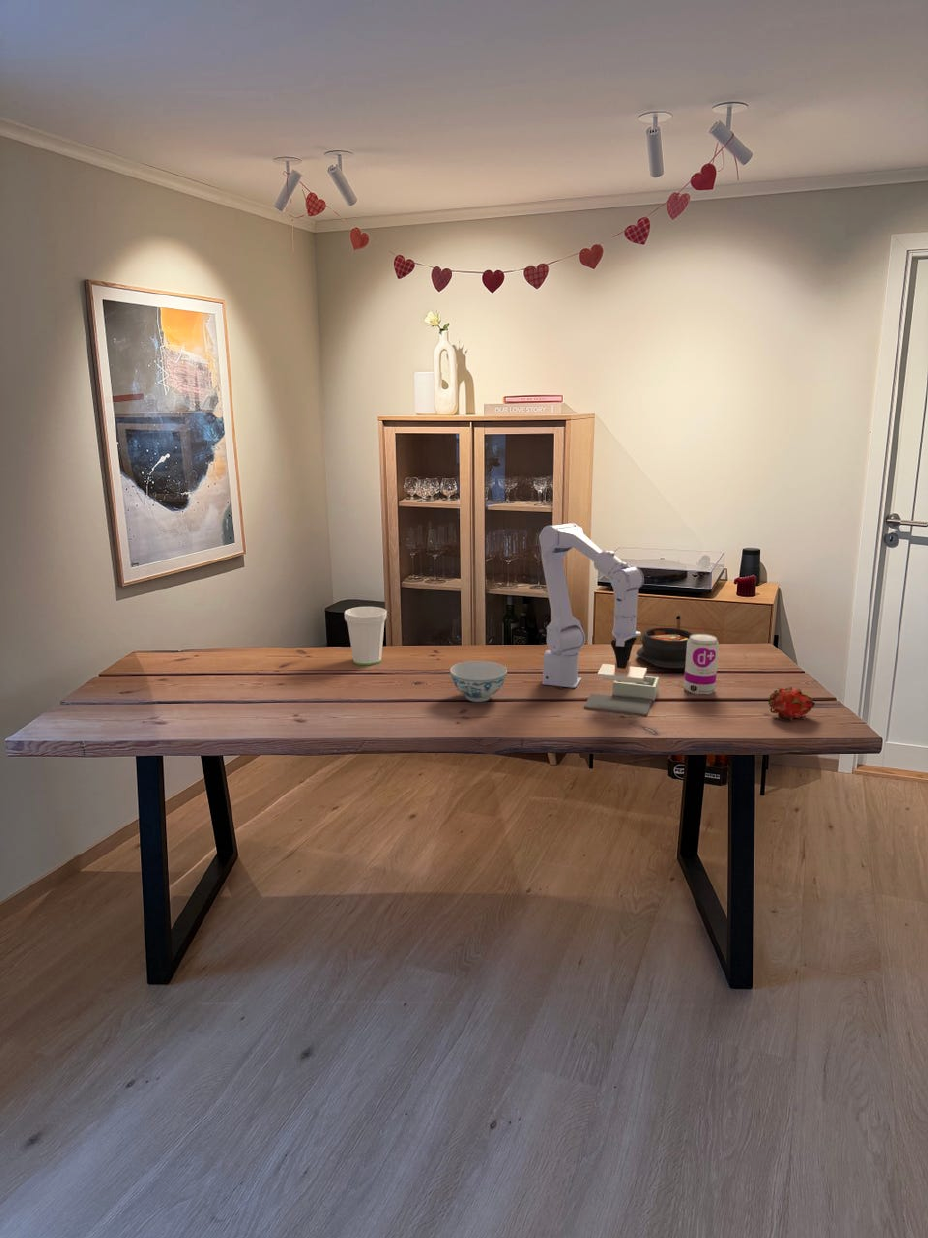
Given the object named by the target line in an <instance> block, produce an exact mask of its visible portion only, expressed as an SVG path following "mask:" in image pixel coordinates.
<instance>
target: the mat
mask: <svg viewBox="0 0 928 1238" xmlns="http://www.w3.org/2000/svg"><path fill="white" fill-rule="evenodd" d="M652 704H653V701H651V700H643V699H634V698H626V697H617V696H612V695H609V694H608V695H607V694H598V693H590V695H589V697H588V698H587V700H586V702H585V703H584V704H583V709H586V710H587V709H588V710H595V711H604V712H611V713H612V712H613V713H621V714H628V715H636V716H637V715H638V716H645V717H647V716H648V714H649V710H650V708H651V705H652Z"/></svg>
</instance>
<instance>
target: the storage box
mask: <svg viewBox="0 0 928 1238" xmlns="http://www.w3.org/2000/svg"><path fill="white" fill-rule="evenodd" d="M659 681H660V677H659V676H651V675H650V676H649V675H645V677H644V679H643V682H638V683H633V682H623V681H614V680H613V682H612V694H611V696H617V697H626V698H634V699H643V700H651V701H652V702H655V701H656V698H657V695H658V693H657V692H659ZM656 694H657V695H656ZM655 697H656V698H655Z"/></svg>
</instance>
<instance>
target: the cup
mask: <svg viewBox="0 0 928 1238" xmlns="http://www.w3.org/2000/svg"><path fill="white" fill-rule="evenodd" d="M386 619H387V609H384V607H383V608H382V607H378V606H358V607H352V608H349V609H346V610H345V611H344V620H345V621H346V623H347V629H348V637H349V643H350V649H351V656H352V663H354V664H356V665H359V666H373V665H377V664H379V663H381V662H382V654H383V652H382V651H383V641H384V632H385V631H384V628H385V621H386Z"/></svg>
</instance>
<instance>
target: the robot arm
mask: <svg viewBox="0 0 928 1238" xmlns="http://www.w3.org/2000/svg"><path fill="white" fill-rule="evenodd" d="M538 539H539V545H540V550H541V552H540V553H541V555H540V556H541V562H542V569H543V572H544V573H543V574H544V579H545V584H546V589H547V595H548V600H549V606H550V611H551V616H552V620H551V622H549V624H548V625H547V626H546V634H547V635H546V645H547V648H548V649H546V650H545V652H544V654H543V663H542V682H541V684H542V685H544V686H545V685H547V686H555V687H563V688H564V687H565V688H572V689H573V688H574V689H575V688H577V687H578V685H579V684H580V682H581V680H582V677H581V676H580V677H579V675H578V674H579V652H581V648H582V647H584V645H585V643H586V634H585V632H584V629H583V627H582V626H581V620H579V619H578V618H577V617H575V616H574V615H573V612H572V606H571V605H572V604H571V601H570V595H569V590H568V584H567V580H566V579H567V578H566V573H565V568H564V563H563V559H564V558H565V556H566V555H567V554H568V553H569V552H570V551H571V550H572V549H575V550H577V551H578V552H580V553H581V554H582V555H584V556H585V557H587V559H589V560H591V561H592V562H593V567H594V569H595V570H596V571H598V572H599V573H600V574H602V575H603V576H604V577H605V578H606V579H608V580H609V582H610V586H611V587H612V590H613V596H614V605H613V606H614V607H613V608H614V609H613V628H612V632H611V633H612V636H613V638H614V640H613V639H612V640H611V641H610V646H611V648H612V650H613V654H614V658H615V662H616V664H617V668H622V669H625V668H626V666H627V662H628V660H631V655H632V654H631V653H632V649H633V647H634V645H635V643H636V641H637V638H638V637H640V636H641V634H642V633H641V631H638V630H637V620H638V604H639V603H638V601H639V600H638V599H639V589H640V588H641V587H642V586H643V584H644V583H645V578H644V573H643V571H642V570H641V569H640V568H639V567H638V565H632V566H631V565H629V564H628V563H627V562H626V561H623V560H622V559H620V558H619V557H618V556H616V553H615V552H614V551H613V550H602V549H601V548H599V546H598V545H596V544H595V543H594V542H593V541H592V540H591V539H590V538H588V537H587V535H585V533H584V530H583V528H582V527H580V526H578V525H577V524H576V523H574V522H568V523H564V524H556V525H547V526H545V527H543V528H542V530H541V532H540V534H539V536H538Z"/></svg>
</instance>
